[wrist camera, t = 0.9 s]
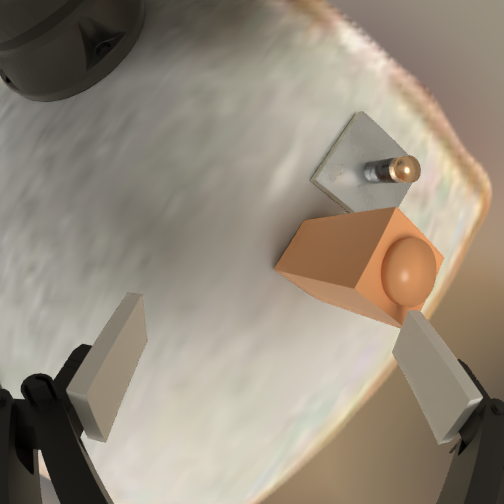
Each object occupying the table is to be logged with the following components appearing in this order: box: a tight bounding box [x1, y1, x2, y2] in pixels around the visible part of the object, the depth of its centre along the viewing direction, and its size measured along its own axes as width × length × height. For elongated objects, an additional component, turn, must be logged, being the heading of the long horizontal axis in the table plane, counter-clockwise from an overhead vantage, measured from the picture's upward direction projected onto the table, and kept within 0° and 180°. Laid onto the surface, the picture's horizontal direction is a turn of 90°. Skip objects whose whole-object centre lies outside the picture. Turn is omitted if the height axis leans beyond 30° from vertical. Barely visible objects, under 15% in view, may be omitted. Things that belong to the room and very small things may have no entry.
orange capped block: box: [274, 207, 444, 329], centre depth 21 cm, size 5×5×13 cm
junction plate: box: [310, 111, 421, 213], centre depth 24 cm, size 8×8×7 cm
